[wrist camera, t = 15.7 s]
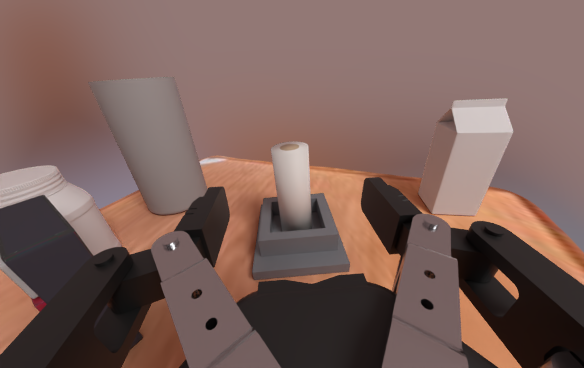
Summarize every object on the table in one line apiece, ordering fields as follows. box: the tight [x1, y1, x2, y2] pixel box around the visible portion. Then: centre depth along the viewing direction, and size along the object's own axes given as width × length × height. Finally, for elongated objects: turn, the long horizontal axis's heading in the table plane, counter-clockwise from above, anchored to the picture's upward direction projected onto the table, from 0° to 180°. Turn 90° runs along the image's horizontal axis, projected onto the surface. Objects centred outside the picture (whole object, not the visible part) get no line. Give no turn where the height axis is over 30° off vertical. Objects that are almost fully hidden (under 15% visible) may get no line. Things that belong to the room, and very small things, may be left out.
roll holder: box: [252, 193, 350, 280], centre depth 34 cm, size 13×16×4 cm
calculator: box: [0, 195, 143, 349], centre depth 20 cm, size 11×4×15 cm, turn 56°
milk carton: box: [418, 98, 513, 216], centre depth 35 cm, size 7×7×19 cm
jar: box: [0, 166, 122, 256], centre depth 29 cm, size 12×10×15 cm
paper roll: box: [271, 142, 312, 232], centre depth 31 cm, size 5×5×14 cm
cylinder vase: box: [88, 77, 207, 215], centre depth 42 cm, size 12×12×25 cm
